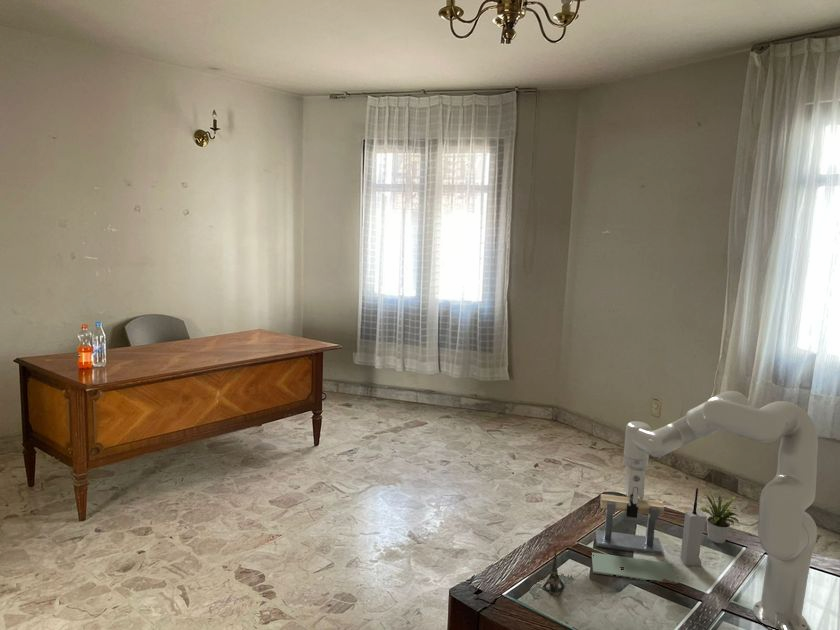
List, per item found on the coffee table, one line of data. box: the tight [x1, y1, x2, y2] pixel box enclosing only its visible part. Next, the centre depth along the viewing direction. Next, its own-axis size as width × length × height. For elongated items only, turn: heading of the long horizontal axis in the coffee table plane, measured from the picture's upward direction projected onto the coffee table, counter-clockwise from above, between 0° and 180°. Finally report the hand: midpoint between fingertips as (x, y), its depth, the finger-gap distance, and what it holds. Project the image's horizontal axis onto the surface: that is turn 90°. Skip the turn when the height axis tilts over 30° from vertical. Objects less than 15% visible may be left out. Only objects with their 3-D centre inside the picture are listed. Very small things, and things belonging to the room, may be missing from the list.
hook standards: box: [595, 493, 664, 556], centre depth 195 cm, size 8×20×15 cm, turn 77°
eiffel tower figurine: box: [529, 549, 575, 599], centre depth 173 cm, size 15×10×13 cm
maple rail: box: [599, 493, 665, 517], centre depth 193 cm, size 4×19×3 cm, turn 77°
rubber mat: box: [591, 551, 679, 584], centre depth 183 cm, size 10×24×1 cm, turn 77°
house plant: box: [693, 492, 742, 544], centre depth 198 cm, size 14×14×16 cm
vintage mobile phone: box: [680, 488, 708, 567], centre depth 184 cm, size 4×5×25 cm
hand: (630, 512), depth 194 cm, fingers closed on maple rail, 4 cm apart
